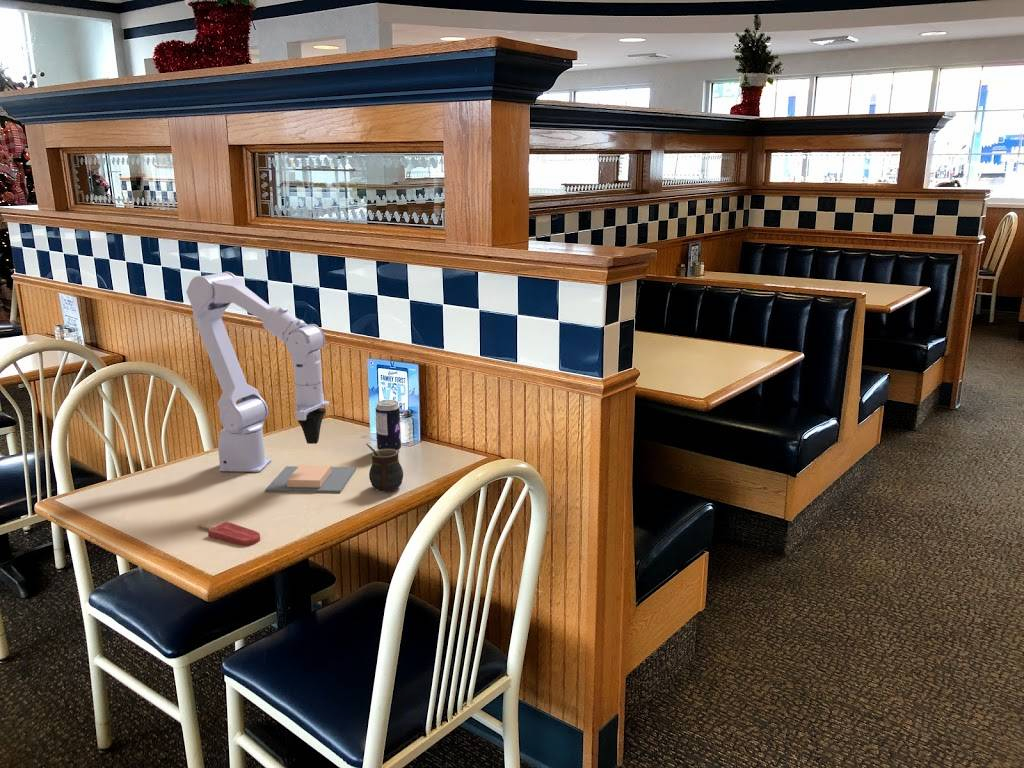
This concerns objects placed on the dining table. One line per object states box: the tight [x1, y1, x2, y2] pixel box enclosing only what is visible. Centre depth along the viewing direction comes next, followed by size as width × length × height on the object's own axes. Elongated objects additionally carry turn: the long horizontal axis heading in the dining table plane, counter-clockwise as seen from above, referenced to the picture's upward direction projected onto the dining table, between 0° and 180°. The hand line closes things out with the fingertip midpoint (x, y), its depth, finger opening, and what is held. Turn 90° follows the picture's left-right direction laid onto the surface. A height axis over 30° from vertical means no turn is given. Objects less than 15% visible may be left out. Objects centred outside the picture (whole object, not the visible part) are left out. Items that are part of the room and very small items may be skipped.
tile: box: [287, 464, 332, 488], centre depth 177 cm, size 7×2×9 cm
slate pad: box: [264, 465, 357, 494], centre depth 178 cm, size 16×14×1 cm
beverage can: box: [375, 399, 402, 452], centre depth 196 cm, size 6×6×12 cm
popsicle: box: [197, 521, 261, 547], centre depth 151 cm, size 4×2×15 cm
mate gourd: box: [365, 442, 404, 493], centre depth 172 cm, size 7×8×10 cm
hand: (312, 442), depth 178 cm, fingers closed
